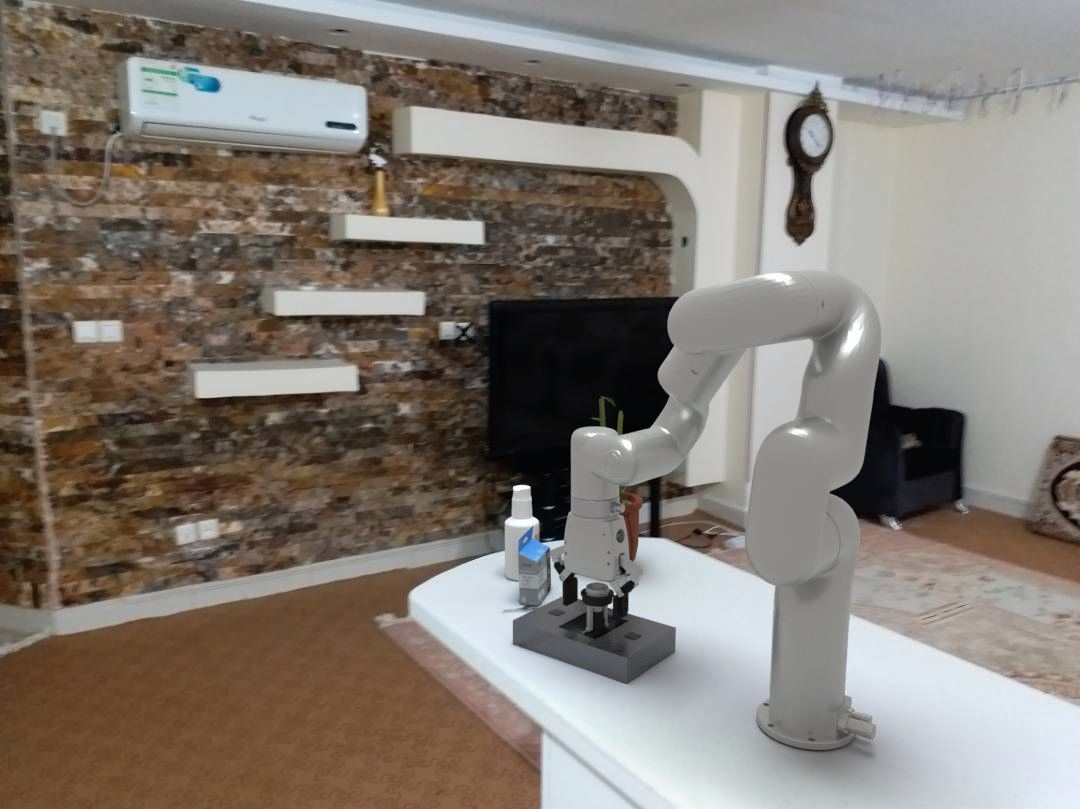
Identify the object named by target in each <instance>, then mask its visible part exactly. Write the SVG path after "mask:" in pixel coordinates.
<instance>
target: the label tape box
mask: <svg viewBox="0 0 1080 809" xmlns="http://www.w3.org/2000/svg"><path fill="white" fill-rule="evenodd" d="M533 527H534V526H532V527H531V528H530V529H529V530H528V531H527V532H525V533H524V534H523V536H522V537H521V538H520V539H519V540H518V568H519V581H518V587H519V588H518V589H519V604H520V605H525V606H536V607H537V606H540V605H541V603H542V602H543V601H544V599H545V598H546V596H547V595H548V594H549V592H550V590H551V589H552V573H551V572H552V569H551V567H552V566H551V565H552V564H551V556H550V550H551V547H550V546H548V545H546V544H544V543H542V542H541V541H540V540H539V541H537V540H535V539H533V538H532V533H533ZM525 537H526V538H527V540H526V541H525V542H524V543H523V541H524V540H525Z"/></svg>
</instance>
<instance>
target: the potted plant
mask: <svg viewBox="0 0 1080 809" xmlns="http://www.w3.org/2000/svg"><path fill="white" fill-rule="evenodd" d="M605 400H607V401H608V402H609V403H610V404H612V405H613V407H616V404H615V402H614V400H613V399H612V398H610V397H606V396H602V397H601V398H599V399H598V403H599V404H598V405H599V406H598V407H599V417H591V419H593V420H595V421H598V422H599V424H600V425H599V427H607V426H606V410H605V409H606V408H605ZM617 417H618V418H617V430H616V432H617V433H618V435H623V427H624V426H623V424H624V423H623V422H624V413H623V411H622V410H619V412H618V415H617ZM626 488H628V486H619V497H620V503H621V504H624V505H625V511H624V512H623V513H619V515H622V516H624V520H625V524H626V529H627V536H628V545H629V559H630V560H631V561H632V562H634V563H635V560H636V558H637V557H636V556H637V552H638V548H639V536H640V535H639V533H640V530H639V529H640V509H642V507H643V501H644V500H643V498H642V496H640V495H638V494H637V493H636V494H635V493H632V492H627V491H625V490H626Z"/></svg>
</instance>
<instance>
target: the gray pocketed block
mask: <svg viewBox="0 0 1080 809" xmlns="http://www.w3.org/2000/svg"><path fill="white" fill-rule="evenodd" d="M607 623H608V626H607V627H608V628H610V629H612V631H610V632H609V633H607V634H605V635H603V636H602V637H600V638H598V639H594V638H591V637H587V636H584V635H582V632H583V631H585V630H586V627H587V605H586V604H585V603H583V602H582V599H580V598H578V600H577V601H576V602H574V603H572V604H570V605H568V606H564V605H563V595H562V596H560V597H558V598H555V599H553V600H552V601H550V602H548V603H546V604H544V605H542V606H540V607H537V608H536V609H533V610H531V611H530V612H527V613H525V614H523V615H521V616H519V617H516V618H514V619H512V645H516V646H519V647H522V648H524V649H527V650H529V651H533V652H535V653H537V654H538V653H539V654H541V655H544V656H546V657H550V658H553V659H554V660H558V661H561V662H563V663H566V664H568V665H572V666H575V667H578V668H580V669H583V670H586V671H589V672H592V673H595V674H598V675H600V676H603V677H607V678H608V679H612V680H615V681H618V682H619V683H624V684H626V685H627V684H629V683H631V682H632V681H634V680H635V679H636V678H638V677H640V676H641V675H642V674H644V673H646V671H649V670H650V669H651V668H652V667H653V668H654V666H656V665H657V664H659V663H660V662H662V661H663V660H665V659H666V658H668V657H670V655H672V654H674V653H675V652H676V642H677V639H676V638H677V637H676V636H677V635H676V633H677V632H676V631H677V627H675V626H672V625H668V624H664V623H661V622H658V621H655V620H651V619H649V618H644V617H641V616H638V615H634V614H631V613H627V616H625V617H623V618H622V619H620V620H618V621H616V620H614V619H613V608H610V607H608V620H607Z"/></svg>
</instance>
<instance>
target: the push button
mask: <svg viewBox="0 0 1080 809" xmlns="http://www.w3.org/2000/svg"><path fill="white" fill-rule="evenodd" d="M580 596H581V600H582V602H583V603H585V604H586V605H587V627H586V630H585V631H583V632H582V635H584V636H587V637H591V638H594V639H598V638H600V637H602V636H603V635H605V634H607V633H609V632H610V631H612V629H610V628H608V627H607V626H608V623H607V620H608V608H609V605H611V604H613V596H615V591H614V590H613V589H611V588H609V585H608V584H606V583H604V582H596V581H595V582H590V583H588V584H586V587H585V588H583V589H581V591H580Z"/></svg>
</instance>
